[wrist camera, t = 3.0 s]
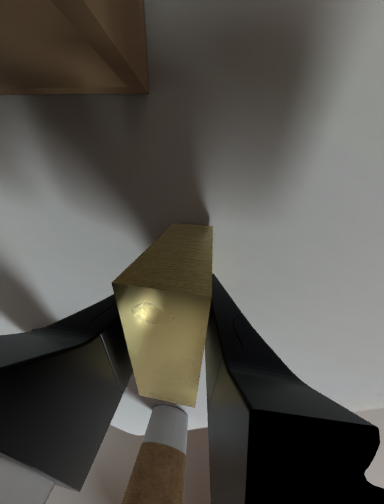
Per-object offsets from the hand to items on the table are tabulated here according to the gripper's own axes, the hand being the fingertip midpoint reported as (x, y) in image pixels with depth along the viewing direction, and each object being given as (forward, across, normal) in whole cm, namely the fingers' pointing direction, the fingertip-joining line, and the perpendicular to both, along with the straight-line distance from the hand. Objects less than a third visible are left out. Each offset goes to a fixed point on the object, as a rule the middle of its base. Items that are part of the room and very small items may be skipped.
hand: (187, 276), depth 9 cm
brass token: (+1, 0, 0) cm, 1 cm away
